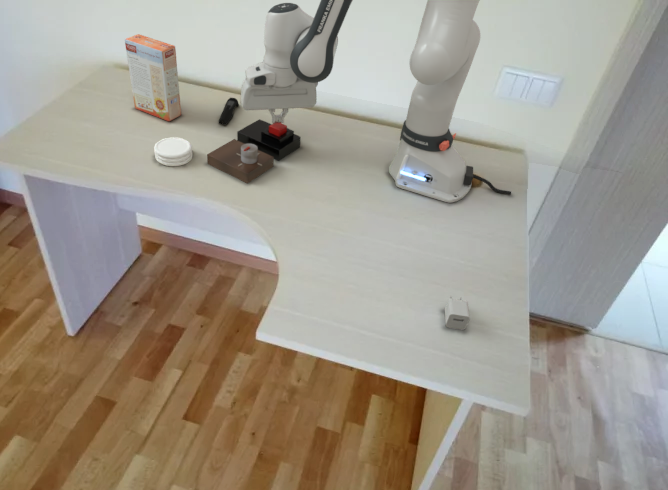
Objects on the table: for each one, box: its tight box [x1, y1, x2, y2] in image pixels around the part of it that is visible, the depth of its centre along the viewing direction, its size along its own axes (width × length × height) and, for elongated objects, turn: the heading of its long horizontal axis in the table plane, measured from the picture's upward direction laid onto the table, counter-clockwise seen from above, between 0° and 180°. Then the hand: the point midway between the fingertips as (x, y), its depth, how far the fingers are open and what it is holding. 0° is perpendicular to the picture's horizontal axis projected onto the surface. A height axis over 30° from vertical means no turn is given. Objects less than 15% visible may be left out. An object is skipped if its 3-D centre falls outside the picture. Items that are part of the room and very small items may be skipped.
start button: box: [269, 123, 288, 136], centre depth 148 cm, size 4×4×2 cm
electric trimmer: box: [217, 97, 239, 126], centre depth 163 cm, size 4×16×3 cm, turn 171°
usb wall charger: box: [444, 295, 471, 331], centre depth 108 cm, size 4×7×4 cm, turn 171°
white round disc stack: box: [153, 136, 194, 167], centre depth 144 cm, size 10×10×4 cm
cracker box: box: [124, 33, 182, 122], centre depth 156 cm, size 14×6×21 cm, turn 58°
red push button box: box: [236, 119, 302, 162], centre depth 151 cm, size 15×10×6 cm, turn 54°
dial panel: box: [206, 138, 275, 184], centre depth 144 cm, size 14×11×3 cm
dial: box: [241, 144, 258, 164], centre depth 140 cm, size 4×4×4 cm
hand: (277, 122), depth 147 cm, fingers closed
